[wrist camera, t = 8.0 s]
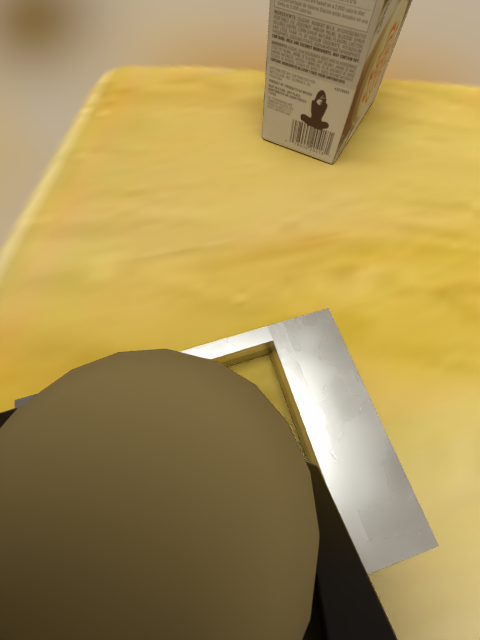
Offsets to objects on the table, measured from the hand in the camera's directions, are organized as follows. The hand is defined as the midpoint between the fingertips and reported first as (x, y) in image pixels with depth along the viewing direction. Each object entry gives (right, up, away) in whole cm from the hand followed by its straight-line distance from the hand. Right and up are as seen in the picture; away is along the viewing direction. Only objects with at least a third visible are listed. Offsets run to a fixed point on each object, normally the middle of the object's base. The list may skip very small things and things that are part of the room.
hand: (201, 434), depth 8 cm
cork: (0, -4, +6) cm, 7 cm away
